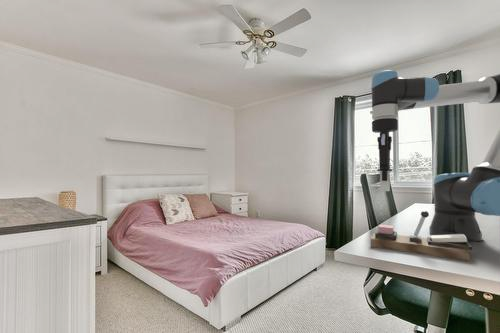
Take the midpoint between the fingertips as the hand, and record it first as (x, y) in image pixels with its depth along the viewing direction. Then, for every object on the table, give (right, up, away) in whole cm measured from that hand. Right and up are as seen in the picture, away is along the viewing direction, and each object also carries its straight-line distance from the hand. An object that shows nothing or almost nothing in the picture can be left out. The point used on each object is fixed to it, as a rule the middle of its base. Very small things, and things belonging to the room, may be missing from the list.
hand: (384, 190), depth 82 cm
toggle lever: (+7, -14, -5) cm, 16 cm away
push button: (0, -14, 0) cm, 14 cm away
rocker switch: (+14, -13, -9) cm, 21 cm away
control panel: (+7, -18, -5) cm, 19 cm away
